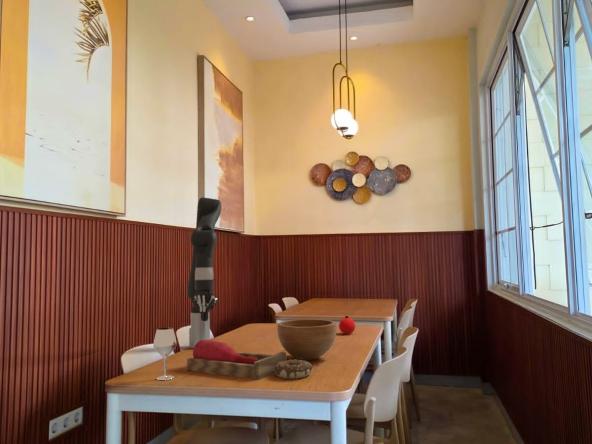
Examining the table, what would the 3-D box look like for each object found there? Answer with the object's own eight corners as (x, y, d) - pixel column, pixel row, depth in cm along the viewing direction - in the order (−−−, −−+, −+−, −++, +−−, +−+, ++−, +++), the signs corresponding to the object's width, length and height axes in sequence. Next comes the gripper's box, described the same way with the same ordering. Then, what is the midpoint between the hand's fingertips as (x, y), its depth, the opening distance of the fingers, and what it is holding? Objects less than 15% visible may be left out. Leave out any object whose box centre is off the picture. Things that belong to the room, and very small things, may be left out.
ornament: (356, 335, 252) (355, 316, 253) (339, 335, 253) (339, 317, 253) (354, 332, 261) (353, 314, 262) (338, 333, 262) (338, 315, 262)
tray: (187, 370, 181) (186, 354, 181) (218, 360, 197) (218, 346, 198) (258, 379, 164) (258, 362, 165) (286, 368, 181) (286, 352, 181)
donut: (299, 382, 160) (299, 367, 160) (267, 378, 167) (266, 363, 168) (319, 373, 172) (318, 359, 173) (288, 369, 179) (288, 356, 180)
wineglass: (156, 376, 173) (156, 327, 175) (178, 375, 174) (178, 326, 175) (151, 381, 165) (151, 330, 167) (174, 380, 166) (174, 329, 167)
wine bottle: (198, 368, 187) (254, 382, 170) (187, 351, 183) (244, 364, 166) (212, 350, 194) (268, 361, 177) (202, 333, 190) (258, 343, 172)
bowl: (343, 354, 203) (342, 319, 205) (328, 367, 180) (327, 328, 181) (289, 352, 212) (289, 318, 213) (269, 364, 188) (268, 326, 189)
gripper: (185, 279, 191) (186, 321, 190) (210, 278, 185) (211, 322, 184) (198, 278, 198) (198, 319, 197) (222, 278, 191) (223, 320, 190)
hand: (204, 320), depth 190 cm, fingers closed
